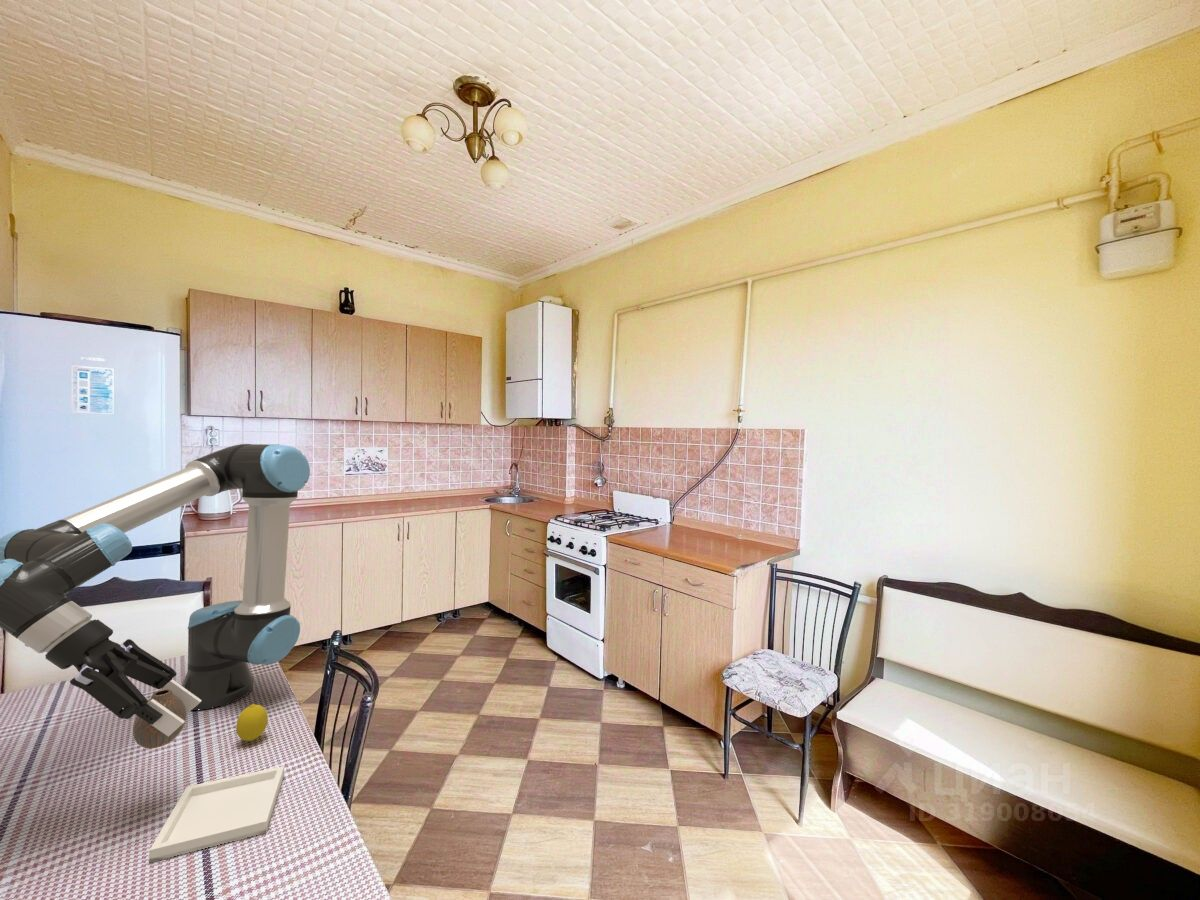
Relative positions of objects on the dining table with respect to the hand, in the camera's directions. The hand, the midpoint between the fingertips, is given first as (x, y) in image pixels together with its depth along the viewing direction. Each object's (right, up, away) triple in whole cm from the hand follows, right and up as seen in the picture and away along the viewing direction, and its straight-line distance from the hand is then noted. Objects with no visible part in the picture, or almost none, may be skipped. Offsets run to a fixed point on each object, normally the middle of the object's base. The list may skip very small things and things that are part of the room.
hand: (185, 717), depth 85 cm
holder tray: (+9, -16, -2) cm, 18 cm away
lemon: (-1, -16, +18) cm, 24 cm away
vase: (-4, -4, -1) cm, 5 cm away
